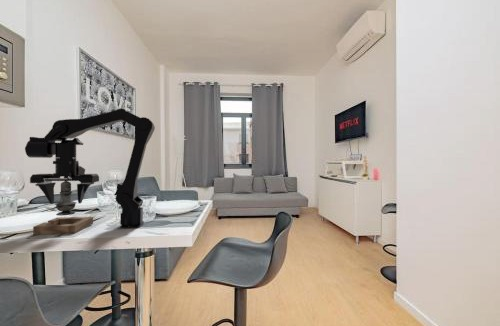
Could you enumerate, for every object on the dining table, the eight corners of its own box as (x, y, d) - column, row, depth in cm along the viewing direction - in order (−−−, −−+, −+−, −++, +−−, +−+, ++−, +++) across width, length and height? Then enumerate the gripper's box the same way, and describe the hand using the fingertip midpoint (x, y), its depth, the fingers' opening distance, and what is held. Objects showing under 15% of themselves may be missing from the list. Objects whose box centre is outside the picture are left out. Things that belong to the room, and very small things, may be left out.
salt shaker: (65, 216, 80) (65, 179, 80) (50, 215, 81) (50, 179, 81) (80, 212, 86) (80, 178, 86) (66, 211, 87) (66, 177, 87)
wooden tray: (92, 223, 91) (92, 216, 91) (75, 233, 79) (75, 225, 79) (56, 224, 89) (57, 217, 89) (33, 234, 77) (33, 226, 77)
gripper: (105, 158, 93) (105, 199, 93) (50, 157, 90) (50, 200, 90) (91, 158, 82) (91, 204, 82) (28, 157, 79) (28, 205, 79)
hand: (66, 203), depth 84 cm, fingers closed on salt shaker, 8 cm apart
